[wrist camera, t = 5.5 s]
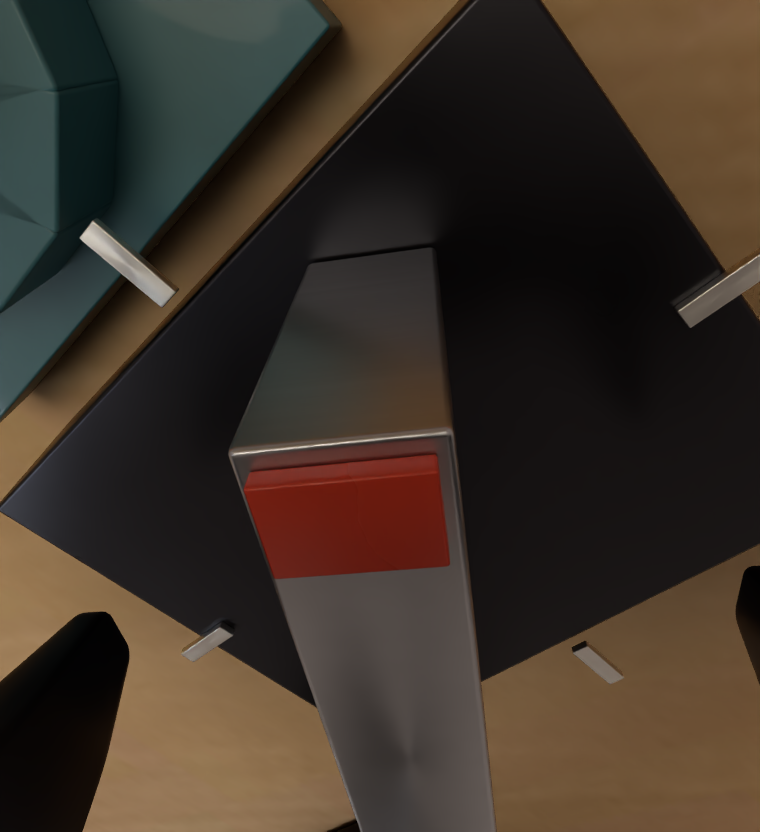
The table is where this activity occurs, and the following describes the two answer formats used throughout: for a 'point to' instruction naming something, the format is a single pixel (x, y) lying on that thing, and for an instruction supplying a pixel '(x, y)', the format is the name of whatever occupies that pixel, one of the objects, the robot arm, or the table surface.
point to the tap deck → (449, 361)
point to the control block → (120, 141)
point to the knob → (373, 538)
